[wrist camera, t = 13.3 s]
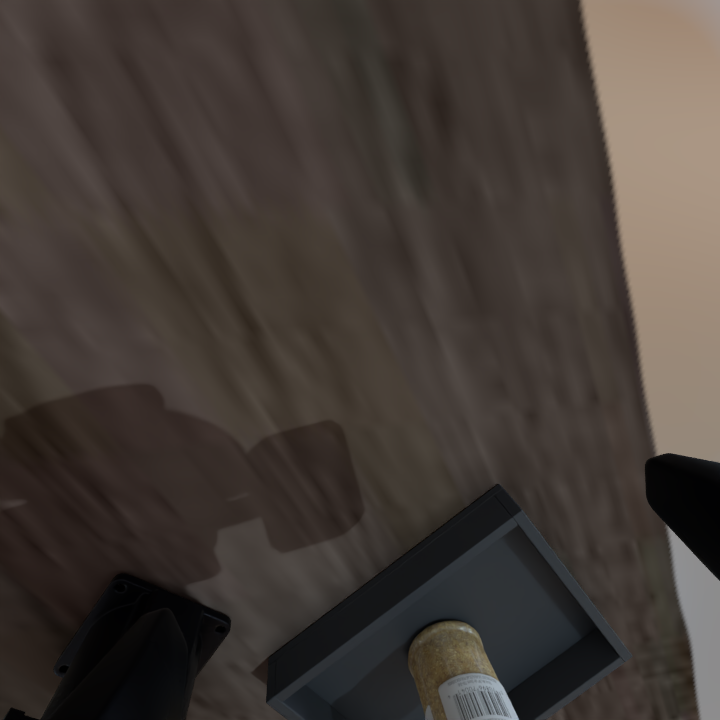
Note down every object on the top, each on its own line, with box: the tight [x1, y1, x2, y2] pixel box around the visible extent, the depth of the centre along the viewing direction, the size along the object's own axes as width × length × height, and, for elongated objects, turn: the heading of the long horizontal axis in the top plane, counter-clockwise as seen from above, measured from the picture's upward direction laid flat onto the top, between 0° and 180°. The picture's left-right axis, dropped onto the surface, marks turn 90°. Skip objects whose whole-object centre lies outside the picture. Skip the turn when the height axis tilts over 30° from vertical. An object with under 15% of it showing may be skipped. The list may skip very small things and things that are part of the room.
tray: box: [266, 484, 632, 720], centre depth 24 cm, size 16×13×2 cm
